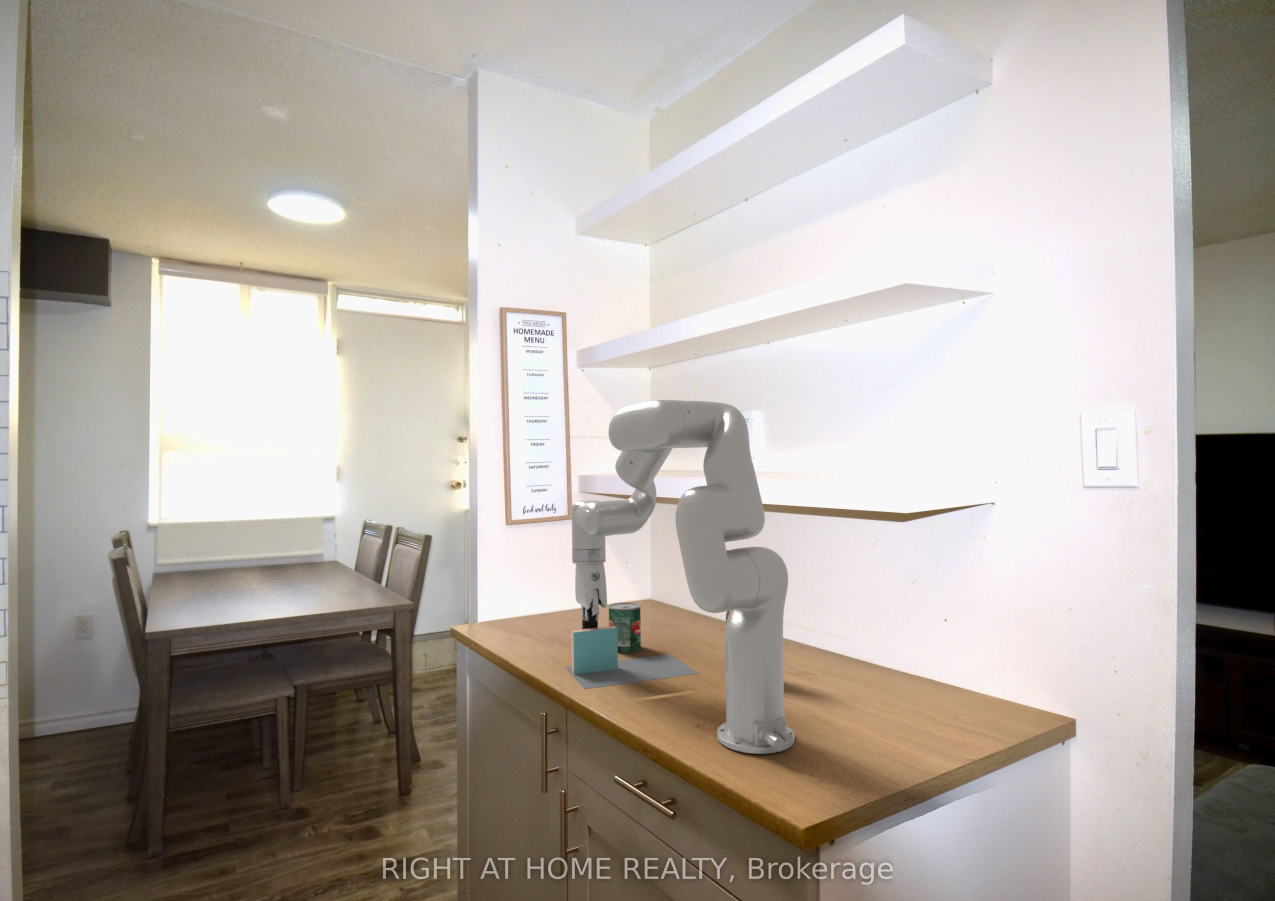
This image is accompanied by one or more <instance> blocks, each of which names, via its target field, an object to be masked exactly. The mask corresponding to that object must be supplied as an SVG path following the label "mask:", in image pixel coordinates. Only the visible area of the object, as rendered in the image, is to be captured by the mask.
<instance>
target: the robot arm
mask: <svg viewBox="0 0 1275 901" xmlns="http://www.w3.org/2000/svg"><path fill="white" fill-rule="evenodd" d="M608 438H609V441H610V443H611V445H612V447H613V448H614V449H615V450H618V451H621V452H620V454H619V456H618V457H617V459H616V461H615V467H614V468H615V472H616V474H617V476H618V477H619V478H620V479H621V480H622V481H623V482H624V484H626V485H628V486H630V487H631V488H634V489H635V490H634V491H633V492H632V494H631V496H629V498H628V499H619V500H618V499H617V500H603V501H600V500H579V501H577V500H576V501H575V502H574V503H573V504H572V505H571V553H572V554H571V558H572V559H571V560H572V564H575V575H574V576H575V577H574V578H575V579H574V580H575V585H574V586H575V588H574V589H575V591H574V592H575V601H576V602H577V603H578V604H579V605H580V607H581V618H582V620H581V625H582V626H581V629H591V628H599V616H600V607H602V608H607V607H608V592H607V578H606V570H605V564H604V563H606V562H607V559H606V537H610V536H611V537H612V536H617V535H628V534H634V533H636V532H639V531H640V530H641V529H642V528H643V527H644V526H645V524H646V523H647V522H648V520H649V518H650V517H651V515H652V514H653V512H654V510H655V507H656V505H657V504H656V503H657V489H656V483H655V480H654V479H655V478H656V477H657V475H658V473H659V471H660V469H661V468H662V466H663V465H664V463H665V461H666V460H667V458H668V457H669V455H670V454H671V452H672V450H673V449H689V448H691V449H692V448H697V449H698V448H702V449H703V448H707V449H706V450H705V453H704V457H703V463H702V464H703V467H702V468H703V473H704V478H705V482H706V485H700V486H699V485H698V486H694V487H692V488H689V489H688V490H686V491H684V492H683V494H682V495H681V497H680V498H679V500H678V502H677V505H676V509H675V510H676V511H675V527H676V534H677V540H678V543H679V544H678V546H679V549H680V554H681V558H682V563H683V564H682V565H683V569H684V574H685V579H686V584H687V587H688V590H689V593H690V596H691V598H692V600H693V602H694V603H695V604H696V606H697V607H698V608H700V609H701V610H703V612H706V613H711V614H719V613H725V612H726V613H727V611H730V613H729V616H728V619H727V623H726V622H725V631H724V659H725V662H724V663H725V665H724V666H725V667H724V669H725V705H726V706H725V718H726V721H725V722H723V723H722V724H720V725H719V726H718V728H717V730H716V736H717V737H716V738H717V739H718V741H719V742H720V744H722V746H724V747H726V748H727V749H730V750H733V751H736V752H739V751H740V752H741V753H745V754H751V755H752V754H754V755H769V754H776V752H777V753H781V752H784V751H786V750H788V749H790V748H791V747H793V745H794V743H795V732H794V731H793V729H791V727H789V726H788V725H787V719H786V718H785V689H784V688H785V686H784V683H785V680H784V613H785V604H786V598H787V594H788V587H789V574H788V568H787V566H786V563H785V561H784V559H783V557H781V556H780V554H778V553H777V551H774V550H773V549H770V548H768V547H763V546H747V547H741V548H740V547H739V548H731V549H727V548H726V543H727V542H728V543H729V542H736V541H743V540H748V539H752V538H754V537H756V536H758V535H759V534H760V533H761V532H762V531H763V528H764V526H765V521H766V520H765V519H766V518H765V517H766V516H765V511H764V504H763V501H762V500H763V499H762V497H761V491H760V488H759V484H758V479H757V475H756V470H755V466H754V463H753V459H752V455H751V446H750V434H749V428H748V424H747V421H746V418H745V416H744V414H742V412H741V411H740V410H739V409H738V408H737V407H736V406H733V405H731V404H728V403H724V402H717V401H706V400H705V401H704V400H703V401H701V400H678V399H677V400H676V399H675V400H674V399H656V400H651V401H647V402H642V403H636V404H631V405H627V406H624V407H622V408H620V409H619V410H618V411H616V412H615V413H614V415H613V416H612V418H611V420H610V423H609V425H608Z"/></svg>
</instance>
